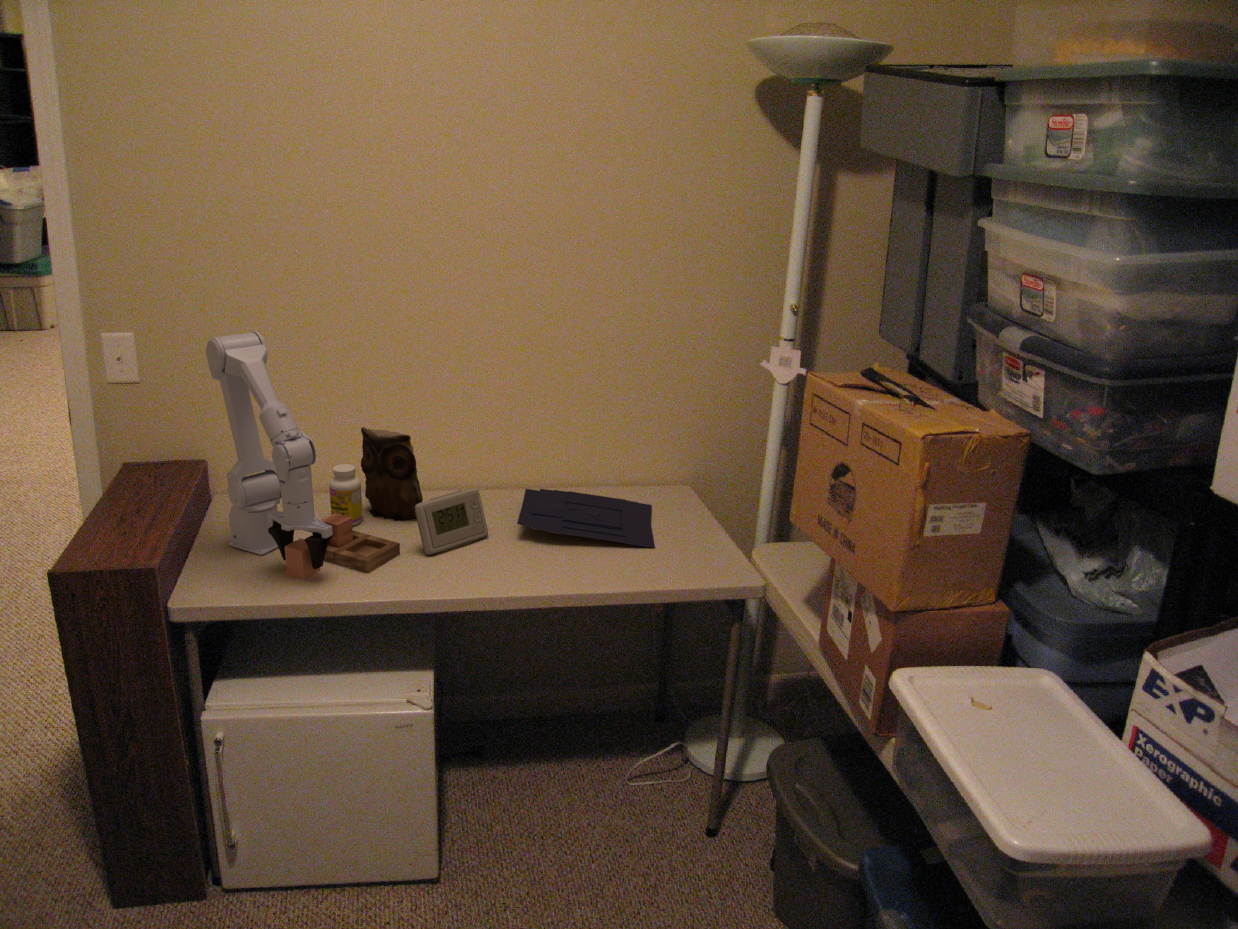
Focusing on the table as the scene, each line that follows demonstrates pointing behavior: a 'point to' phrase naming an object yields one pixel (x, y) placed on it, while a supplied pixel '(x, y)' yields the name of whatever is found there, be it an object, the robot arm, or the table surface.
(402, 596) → the table surface
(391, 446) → the owl
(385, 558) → the walnut base
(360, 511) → the supplement bottle
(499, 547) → the table surface
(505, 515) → the table surface
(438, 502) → the digital clock
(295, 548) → the post block
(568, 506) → the black flat block
